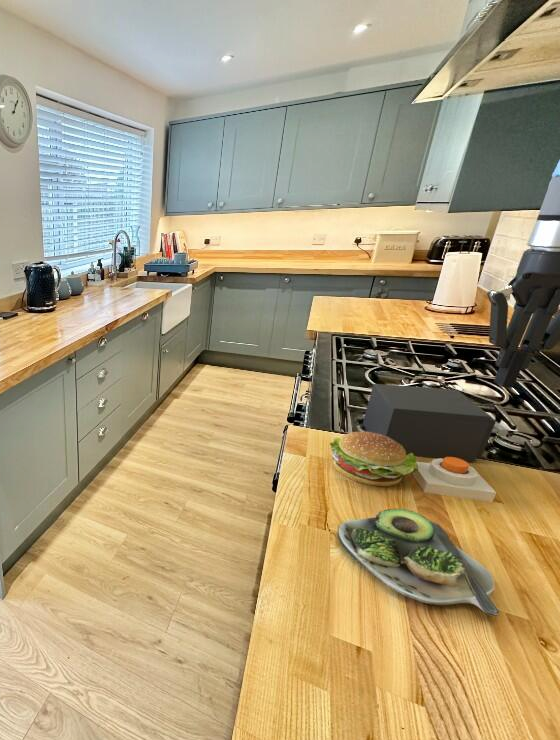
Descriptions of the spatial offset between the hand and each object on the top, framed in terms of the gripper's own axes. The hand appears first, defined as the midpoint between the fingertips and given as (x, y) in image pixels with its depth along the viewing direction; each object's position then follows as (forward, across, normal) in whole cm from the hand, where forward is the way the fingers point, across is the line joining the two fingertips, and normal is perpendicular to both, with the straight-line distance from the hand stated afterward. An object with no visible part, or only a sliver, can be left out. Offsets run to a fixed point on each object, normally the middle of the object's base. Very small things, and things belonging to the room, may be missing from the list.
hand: (503, 384), depth 75 cm
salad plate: (+21, -18, -28) cm, 39 cm away
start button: (+17, -4, -4) cm, 18 cm away
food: (+21, -17, -3) cm, 27 cm away
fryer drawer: (+19, 0, +13) cm, 23 cm away
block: (+20, -4, -4) cm, 21 cm away
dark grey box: (+20, -4, +13) cm, 24 cm away
